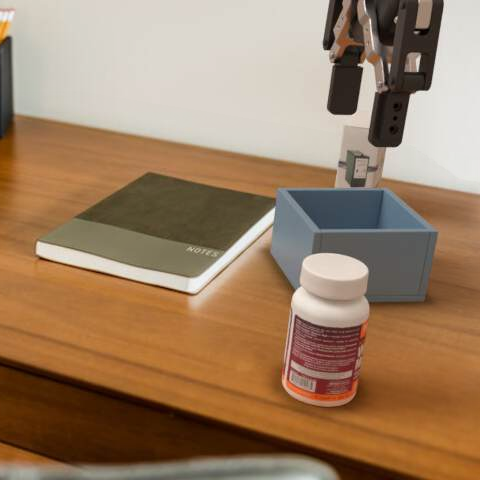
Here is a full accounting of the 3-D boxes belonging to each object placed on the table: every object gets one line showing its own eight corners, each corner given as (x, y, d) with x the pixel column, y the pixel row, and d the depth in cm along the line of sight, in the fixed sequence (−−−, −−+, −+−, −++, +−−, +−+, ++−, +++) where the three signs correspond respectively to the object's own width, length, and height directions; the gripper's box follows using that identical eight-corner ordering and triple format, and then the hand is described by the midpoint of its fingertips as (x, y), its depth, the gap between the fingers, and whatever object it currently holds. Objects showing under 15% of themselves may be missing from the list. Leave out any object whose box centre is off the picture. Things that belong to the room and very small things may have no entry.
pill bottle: (367, 408, 73) (389, 282, 68) (293, 411, 72) (311, 283, 67) (339, 368, 78) (359, 249, 74) (271, 370, 77) (286, 250, 73)
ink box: (341, 193, 120) (354, 107, 116) (379, 200, 118) (394, 112, 114) (329, 214, 113) (342, 123, 108) (369, 221, 111) (384, 129, 106)
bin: (376, 252, 102) (387, 187, 99) (424, 302, 91) (438, 231, 88) (269, 253, 101) (277, 187, 98) (304, 304, 89) (314, 232, 86)
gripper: (506, -100, 54) (453, 159, 60) (407, -109, 67) (372, 105, 73) (386, -106, 53) (346, 158, 59) (310, -114, 66) (283, 103, 72)
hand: (360, 128), depth 66 cm, fingers open, 8 cm apart
